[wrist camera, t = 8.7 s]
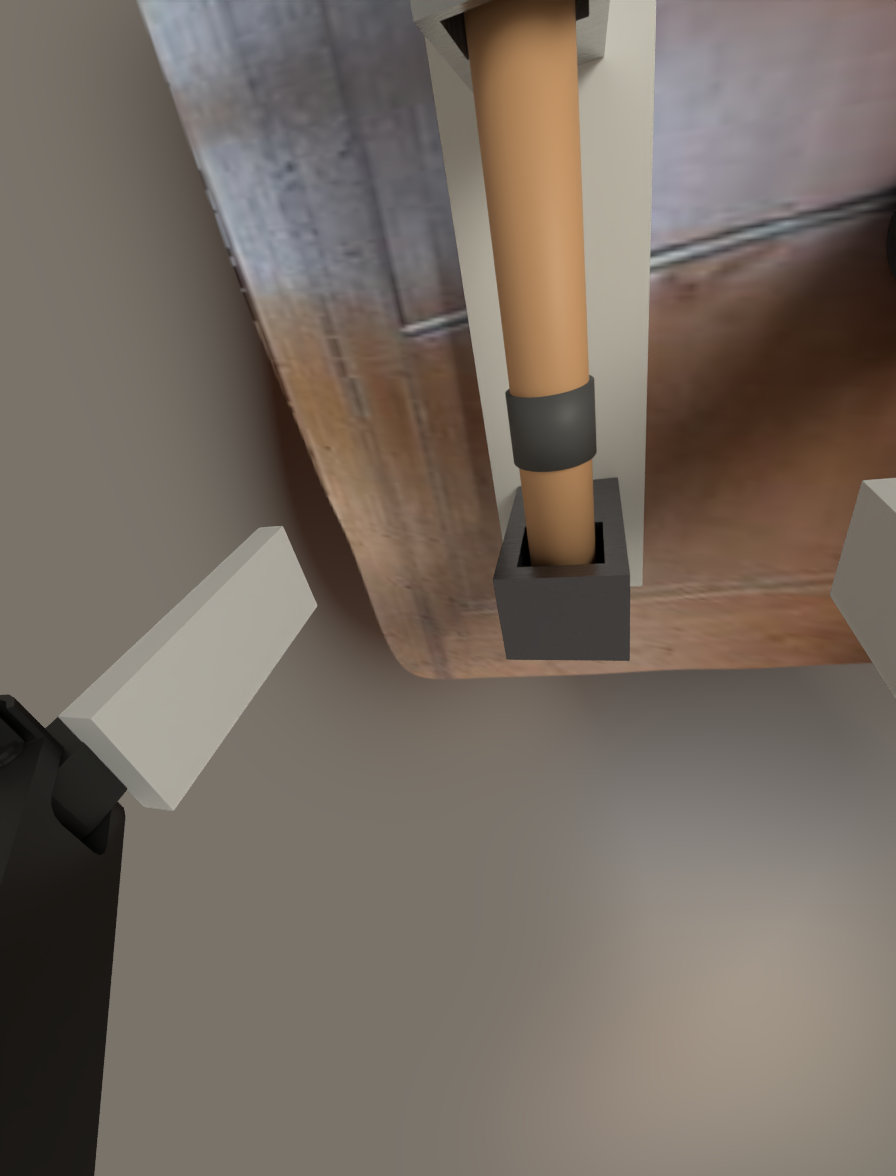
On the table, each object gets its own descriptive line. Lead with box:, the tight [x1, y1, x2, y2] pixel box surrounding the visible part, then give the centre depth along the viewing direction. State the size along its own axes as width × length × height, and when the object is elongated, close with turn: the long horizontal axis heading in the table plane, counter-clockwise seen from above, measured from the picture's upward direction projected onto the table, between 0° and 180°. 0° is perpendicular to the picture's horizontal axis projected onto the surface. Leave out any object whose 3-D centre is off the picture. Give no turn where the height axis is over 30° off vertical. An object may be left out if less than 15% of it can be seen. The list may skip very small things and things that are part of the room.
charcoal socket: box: [493, 477, 630, 661], centre depth 28 cm, size 5×6×10 cm
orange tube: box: [464, 0, 597, 567], centre depth 20 cm, size 22×4×4 cm, turn 12°
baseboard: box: [424, 0, 656, 587], centre depth 25 cm, size 37×9×2 cm, turn 11°
